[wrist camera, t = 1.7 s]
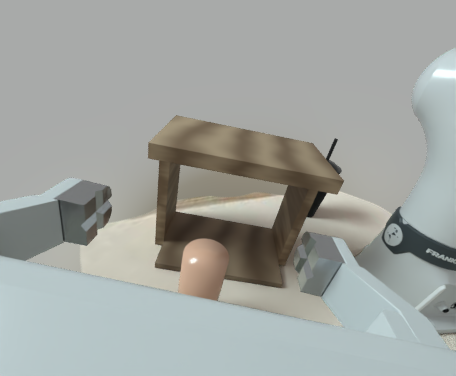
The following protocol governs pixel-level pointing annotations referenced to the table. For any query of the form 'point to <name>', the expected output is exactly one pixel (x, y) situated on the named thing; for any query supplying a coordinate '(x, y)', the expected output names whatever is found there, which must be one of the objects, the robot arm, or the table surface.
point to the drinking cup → (320, 194)
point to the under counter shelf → (242, 166)
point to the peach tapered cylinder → (203, 269)
